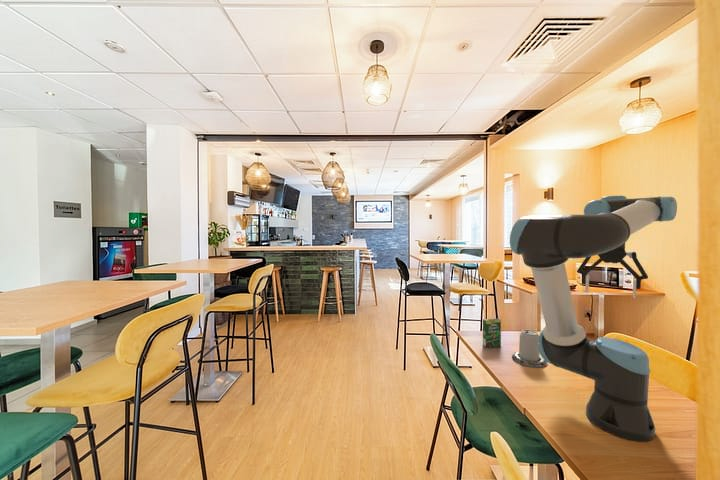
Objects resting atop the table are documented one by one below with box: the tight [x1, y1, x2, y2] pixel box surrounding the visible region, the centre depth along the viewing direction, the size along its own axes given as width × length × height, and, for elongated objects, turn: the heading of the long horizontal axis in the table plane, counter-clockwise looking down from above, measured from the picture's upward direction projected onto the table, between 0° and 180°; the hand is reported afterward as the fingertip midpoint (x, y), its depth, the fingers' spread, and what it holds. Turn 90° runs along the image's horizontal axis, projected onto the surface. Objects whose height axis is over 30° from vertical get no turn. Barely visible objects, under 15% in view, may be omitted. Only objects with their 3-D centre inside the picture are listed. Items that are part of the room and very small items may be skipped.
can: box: [518, 329, 540, 362], centre depth 128 cm, size 8×8×12 cm
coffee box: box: [482, 318, 502, 349], centre depth 142 cm, size 8×3×13 cm, turn 98°
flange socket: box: [511, 351, 548, 369], centre depth 128 cm, size 13×13×2 cm
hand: (609, 294), depth 112 cm, fingers open, 13 cm apart
